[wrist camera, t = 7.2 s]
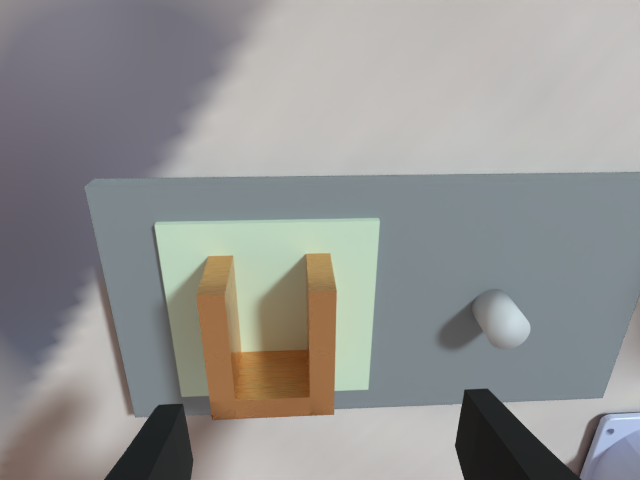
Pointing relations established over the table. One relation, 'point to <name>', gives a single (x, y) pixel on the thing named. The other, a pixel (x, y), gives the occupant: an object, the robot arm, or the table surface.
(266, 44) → the table surface
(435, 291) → the peg board
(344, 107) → the table surface
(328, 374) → the c link
